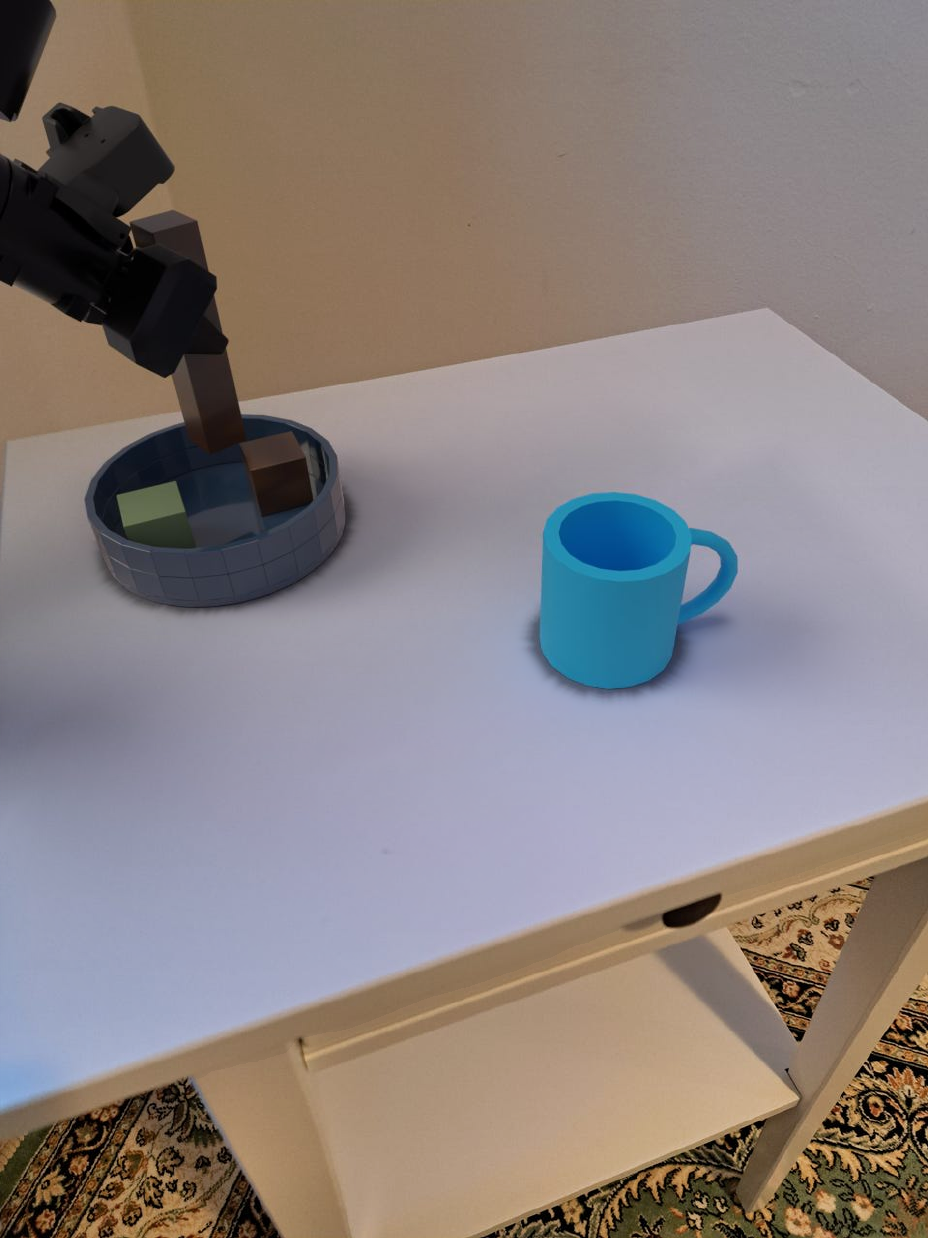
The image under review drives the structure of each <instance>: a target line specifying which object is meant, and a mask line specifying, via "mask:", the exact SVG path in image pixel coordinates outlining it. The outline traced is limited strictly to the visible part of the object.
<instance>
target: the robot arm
mask: <svg viewBox="0 0 928 1238" xmlns="http://www.w3.org/2000/svg"><path fill="white" fill-rule="evenodd" d="M56 19H57V10H56V8H55V6H54V5H53V2H52V1H51V0H0V120H1V121H6V122H8V123H12V122H17V120H18V118H19V116H20V113H21V111H22V109H23V106H24V103H25V100H26V98H27V95H28V94H29V93H28V92H29V90H30V87H31V84H32V82H33V80H34V76H35V74H36V71H37V69H38V66H39V63H40V61H41V58H42V55H43V53H44V52H45V51H44V50H45V48H46V45H47V43H48V40H49V37H50V35H51V32H52V30H53V27H54V24H55V21H56ZM91 112H92V114H93V115H92V116H90V115H88V114H86V113H85V112H82V111H81V110H79V109H77V108H75V107H73V106H72V105H69V104H66V103H63V102H60V101H59V102H57V103H56V104H54V106H53V107H52V108H50V110H49V111H47V112H46V113H45V114H44V115H42V117H41V121H42V123H43V127H44V131H45V135H46V137H47V141H48V145H49V148H48V149H47V150H46V151H45V154H46V155H47V156H48V157H49V158H48V159H47V160H46V161H45V162H44V163H43V165H41V166H40V167H39V168H38V169H37V170H36V169H34V168H33V167H31V166H30V165H28V164H26V163H25V162H23V161H22V160H20V159H17V158H14V159H10V158H9V157H7V156H5V155H4V154H3V153H1V152H0V282H1V283H4V284H5V285H7V286H10V287H13V286H15V287H17V288H19V289H20V290H23V291H25V292H27V293H28V294H31V296H34V297H36V298H38V299H40V300H42V301H44V302H46V303H48V304H49V305H51V306H52V307H54V308H55V309H57V310H58V311H60V312H61V313H62V314H64V315H66V316H67V317H69V318H71V319H73V320H75V321H77V322H79V323H82V322H84V323H86V324H91V325H98V326H102V329H103V332H104V336H105V339H106V342H107V345H108V346H109V347H110V348H112V349H114V351H117V352H118V353H119V354H121V355H122V356H124V357H125V358H126V359H128V360H129V361H131V362H132V363H134V364H135V365H137V366H139V367H141V368H143V369H145V370H147V371H149V372H151V373H153V374H155V375H157V376H159V377H161V378H162V379H167V378H168V377H170V376H171V374H173V373H175V371H176V369H177V367H178V365H179V363H180V361H181V359H182V357H183V355H184V354H215V355H221V354H223V352H224V351H225V349H226V350H227V347H228V345H229V342H230V341H229V337H227V336H226V335H225V334H224V333H222V332H223V331H222V332H221V331H220V330H219V329H218V328H217V327H216V326H215V325H214V324H213V323H212V322H211V321H210V320H209V319H208V318H207V317H206V316H205V315H204V314H205V312H206V310H207V308H208V306H209V304H210V302H211V300H212V298H213V296H215V294H216V292H217V290H218V277H217V276H216V275H215V274H213V273H212V272H211V271H207V270H206V269H204V268H203V267H201V266H200V265H198V264H197V263H195V262H194V261H192V260H191V259H189V258H187V257H185V256H183V255H181V254H179V253H177V252H175V251H173V250H171V249H169V248H167V247H165V246H163V245H161V244H155V245H152V246H149V247H145V248H142V249H141V248H139V247H136V246H135V247H134V244H133V241H132V239H131V235H130V234H131V232H132V231H131V229H132V227H130V224H127V223H126V222H124V221H123V220H121V219H119V218H120V217H122V216H124V215H125V214H127V213H128V212H130V211H131V210H132V209H134V207H135V206H136V205H138V204H139V203H140V202H141V201H142V200H143V199H144V198H145V197H146V196H147V195H148V194H149V193H150V192H151V191H152V190H153V189H155V188H156V187H157V186H158V185H164V184H166V183H167V181H169V179H171V178H172V176H173V175H174V173H175V170H176V169H175V168H176V167H175V165H174V163H173V162H172V160H171V159H170V158H169V156H168V155H167V153H166V151H165V150H164V148H163V146H162V145H161V144H160V143H159V141H158V140H157V138H156V137H155V135H154V134H153V132H152V131H151V129H150V128H149V127H148V125H147V124H146V122H145V120H144V119H143V118H142V115H140V114H138V113H135V112H133V111H130V110H126V109H124V108H120V107H118V106H115V105H109V106H105V107H103V108H102V107H99V106H97V105H96V106H94V108H92V109H91Z"/></svg>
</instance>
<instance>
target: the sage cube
mask: <svg viewBox="0 0 928 1238" xmlns="http://www.w3.org/2000/svg"><path fill="white" fill-rule="evenodd" d="M117 500H118V504H119V509H120V513H121V518H122V522H123V527H124V530H125V532H126V535H127V538H128V540H129V541H133V542H137V543H141V544H145V545H149V546H153V547H163V548H182V549H190V548H197V547H196V544H195V541H194V538H193V534H192V531H191V528H190V524H189V521H188V518H187V514H186V511H185V508H184V505H183V502H182V498H181V495H180V492H179V489H178V486H177V483H176V481H173V482H169V483H165V484H161V485H157V486H152V487H148V488H144V489H140V490H136V491H132V492H127V493H123V494H119V495H117Z"/></svg>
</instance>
